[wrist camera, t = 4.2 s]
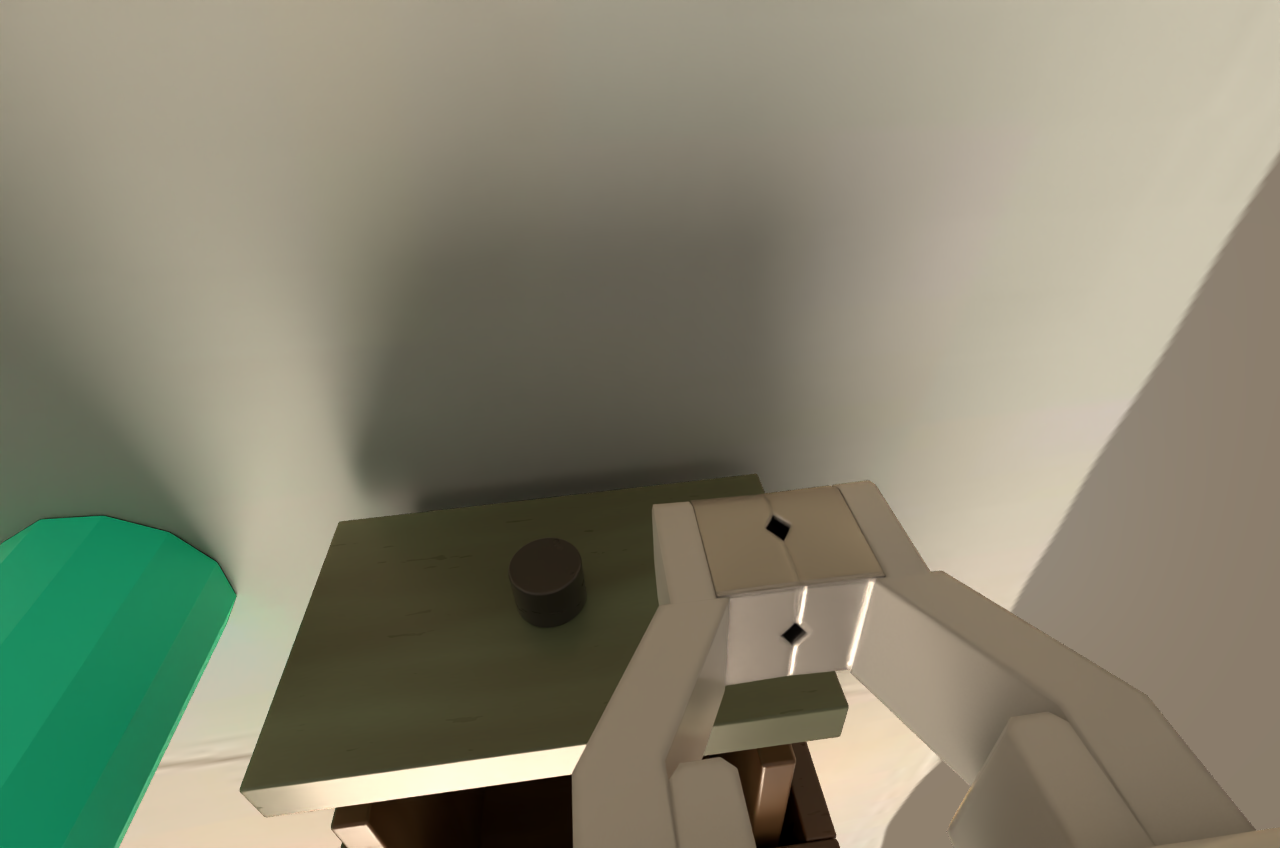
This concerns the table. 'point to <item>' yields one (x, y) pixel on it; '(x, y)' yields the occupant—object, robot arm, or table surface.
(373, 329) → the table surface
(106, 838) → the candle
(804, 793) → the cabinet
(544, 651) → the drawer
